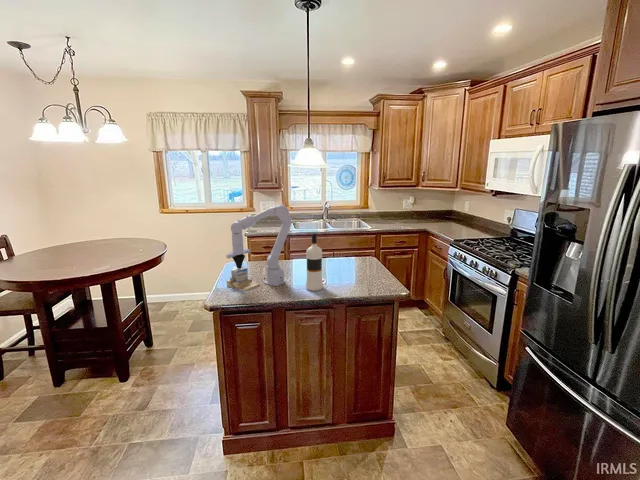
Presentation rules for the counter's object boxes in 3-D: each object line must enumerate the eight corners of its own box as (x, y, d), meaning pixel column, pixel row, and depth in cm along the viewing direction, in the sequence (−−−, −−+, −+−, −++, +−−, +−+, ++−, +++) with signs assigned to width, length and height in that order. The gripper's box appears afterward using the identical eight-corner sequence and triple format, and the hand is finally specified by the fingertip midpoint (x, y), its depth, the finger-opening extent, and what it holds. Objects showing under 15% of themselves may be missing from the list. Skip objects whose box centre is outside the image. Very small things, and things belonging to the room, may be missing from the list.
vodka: (313, 292, 165) (313, 236, 159) (302, 288, 172) (301, 233, 165) (326, 288, 172) (326, 233, 165) (315, 283, 178) (314, 230, 171)
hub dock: (259, 285, 176) (259, 276, 175) (244, 291, 167) (243, 282, 166) (241, 280, 184) (241, 271, 183) (226, 286, 175) (225, 277, 174)
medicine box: (237, 287, 173) (236, 271, 171) (231, 285, 176) (230, 270, 174) (248, 282, 180) (247, 268, 178) (243, 281, 182) (242, 266, 180)
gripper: (242, 240, 181) (244, 263, 184) (221, 245, 169) (223, 270, 172) (251, 242, 177) (252, 265, 180) (230, 247, 165) (232, 272, 168)
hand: (239, 268), depth 176 cm, fingers closed
